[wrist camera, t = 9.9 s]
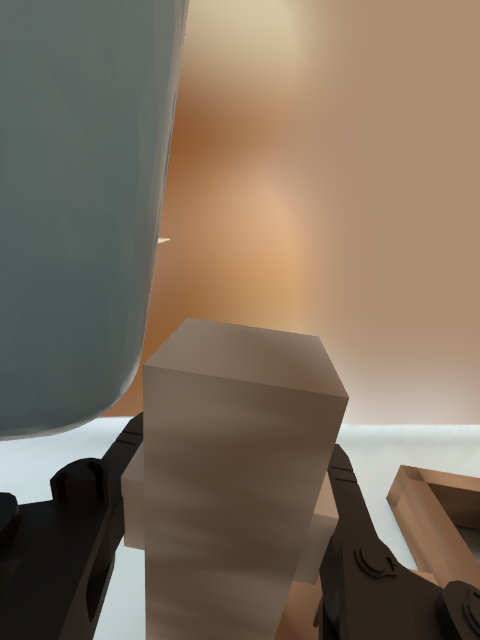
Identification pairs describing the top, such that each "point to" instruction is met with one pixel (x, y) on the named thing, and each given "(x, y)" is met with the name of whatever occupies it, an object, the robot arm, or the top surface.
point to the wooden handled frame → (260, 485)
